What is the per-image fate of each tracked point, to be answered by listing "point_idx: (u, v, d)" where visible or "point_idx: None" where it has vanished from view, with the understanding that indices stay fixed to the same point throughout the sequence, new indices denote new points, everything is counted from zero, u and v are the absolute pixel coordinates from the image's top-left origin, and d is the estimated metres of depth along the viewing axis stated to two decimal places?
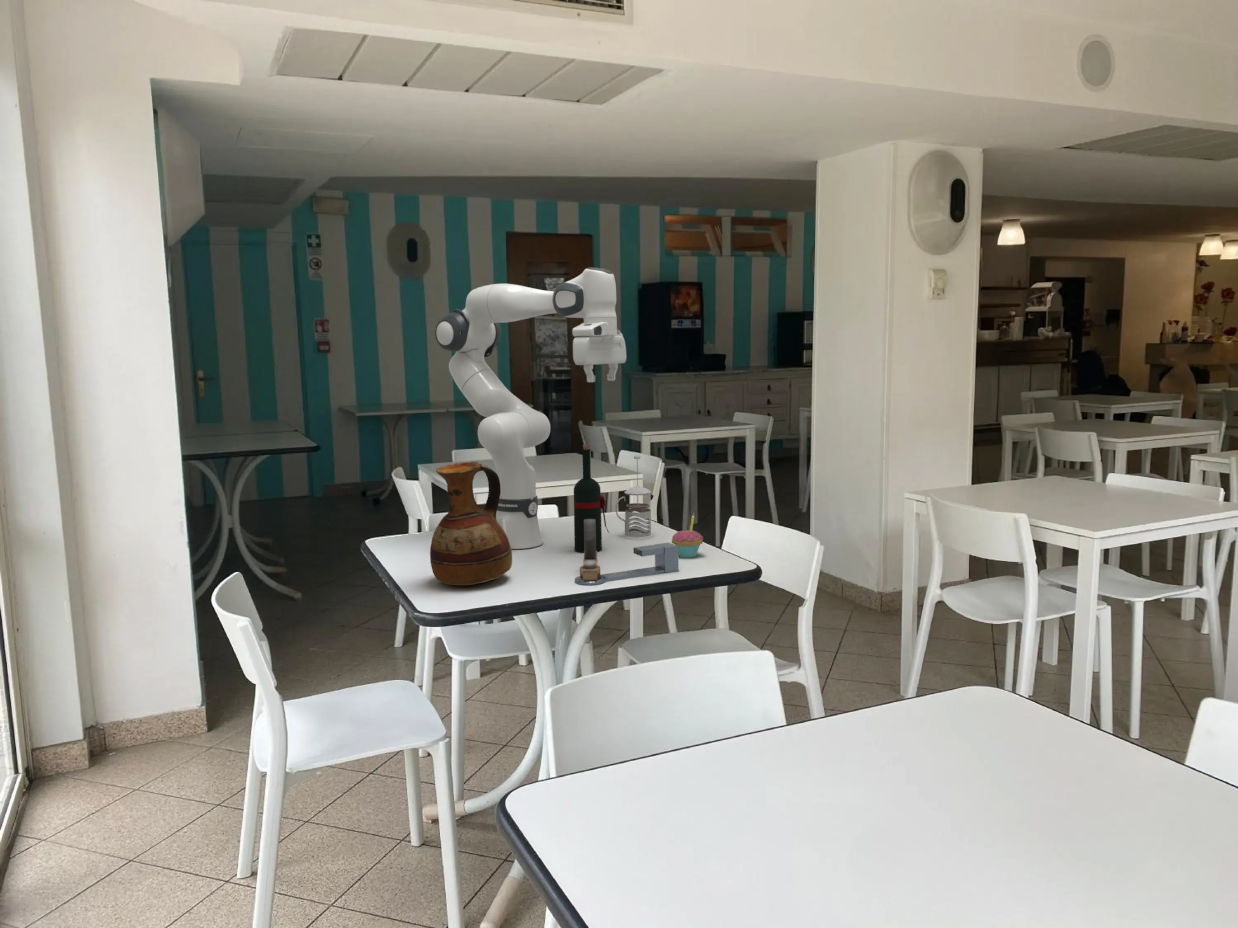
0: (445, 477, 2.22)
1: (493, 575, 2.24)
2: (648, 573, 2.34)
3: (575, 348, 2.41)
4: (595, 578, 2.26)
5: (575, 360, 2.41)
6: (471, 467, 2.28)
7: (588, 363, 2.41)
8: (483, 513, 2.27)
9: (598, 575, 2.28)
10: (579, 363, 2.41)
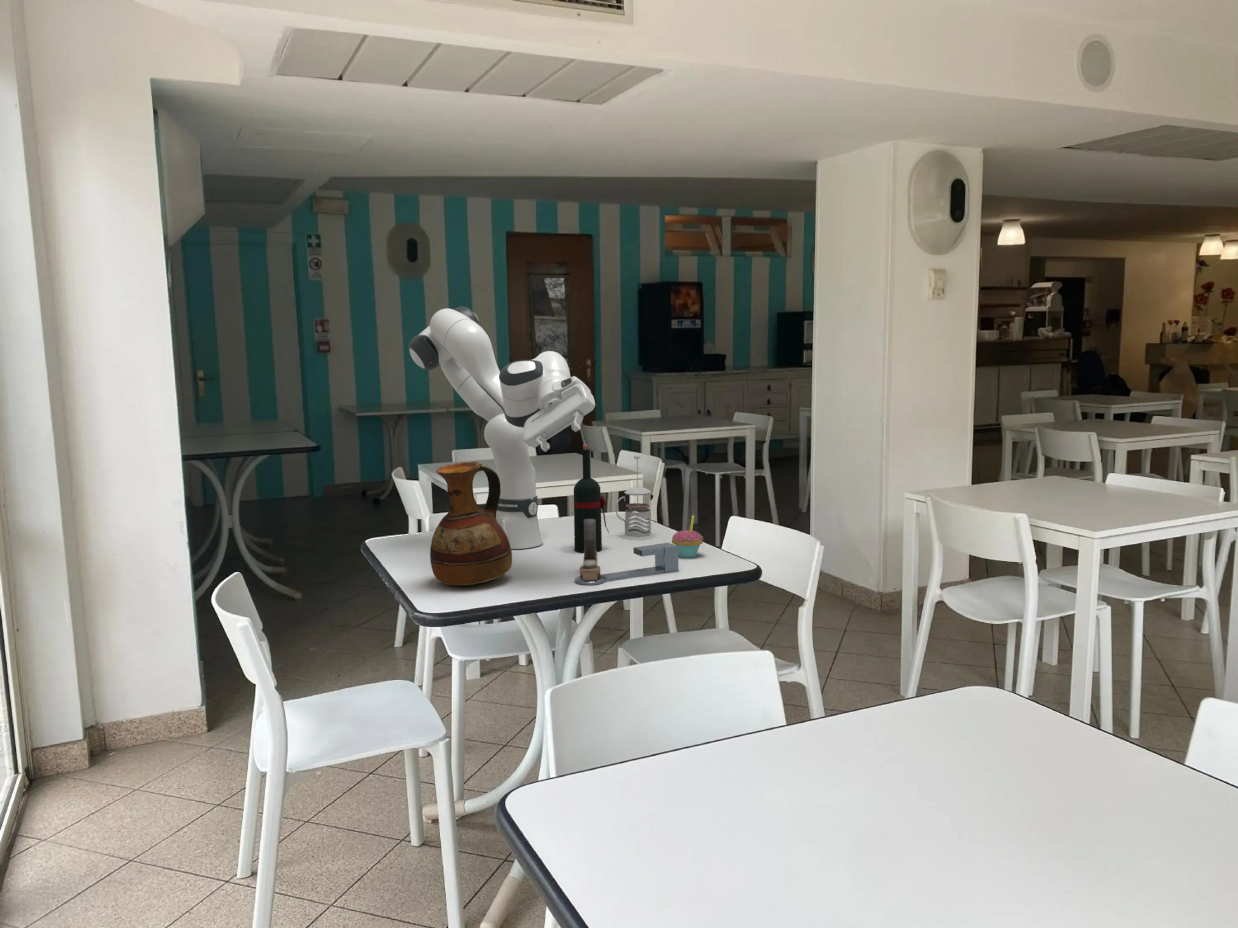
0: (445, 477, 2.22)
1: (493, 575, 2.24)
2: (648, 573, 2.34)
3: (585, 390, 2.24)
4: (595, 578, 2.26)
5: (588, 399, 2.22)
6: (471, 467, 2.28)
7: None
8: (483, 513, 2.27)
9: (598, 575, 2.28)
10: (590, 404, 2.22)
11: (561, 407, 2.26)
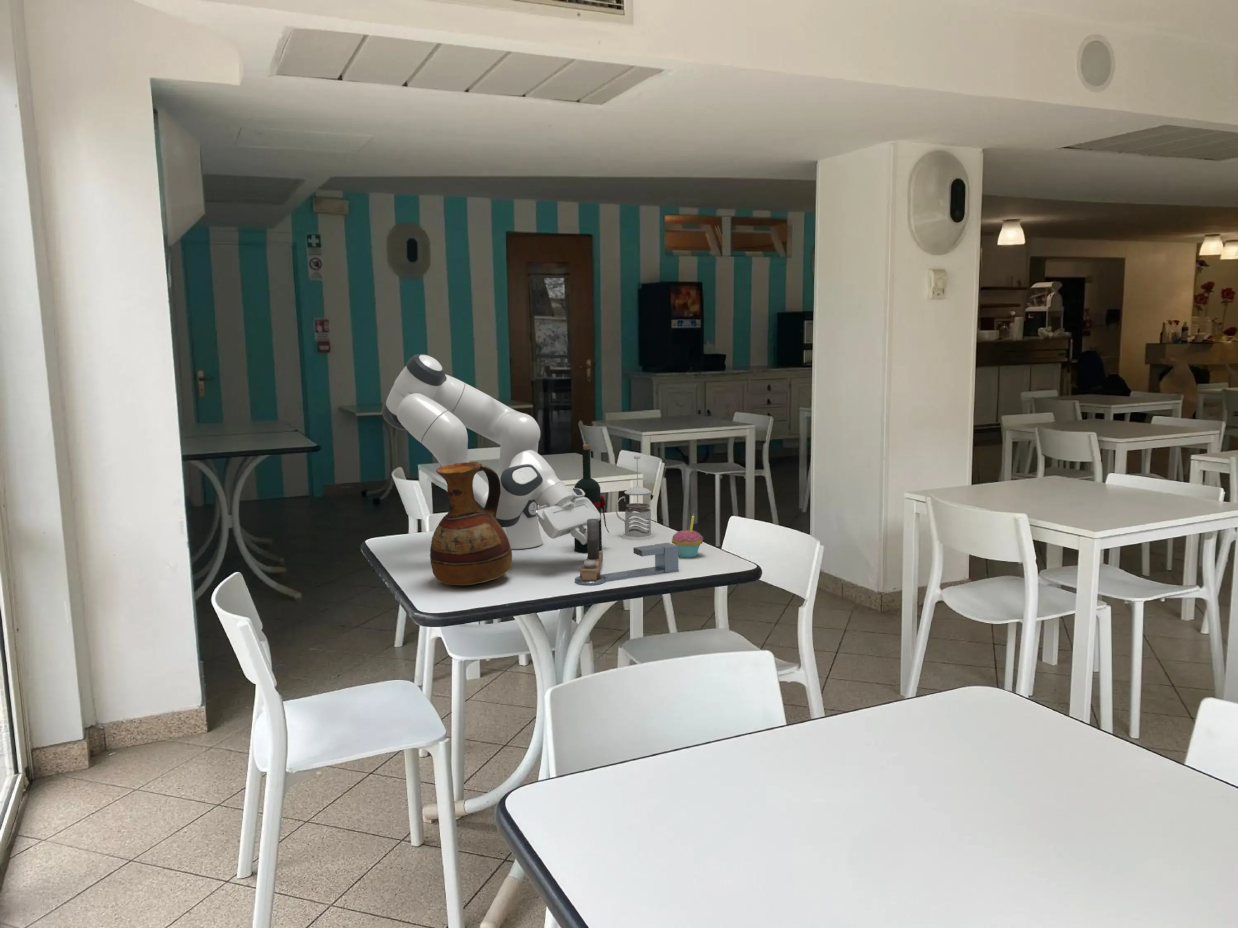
0: (445, 477, 2.22)
1: (493, 575, 2.24)
2: (648, 573, 2.34)
3: None
4: (594, 578, 2.26)
5: None
6: (471, 467, 2.28)
7: None
8: (483, 513, 2.27)
9: (598, 575, 2.28)
10: None
11: (579, 512, 2.43)
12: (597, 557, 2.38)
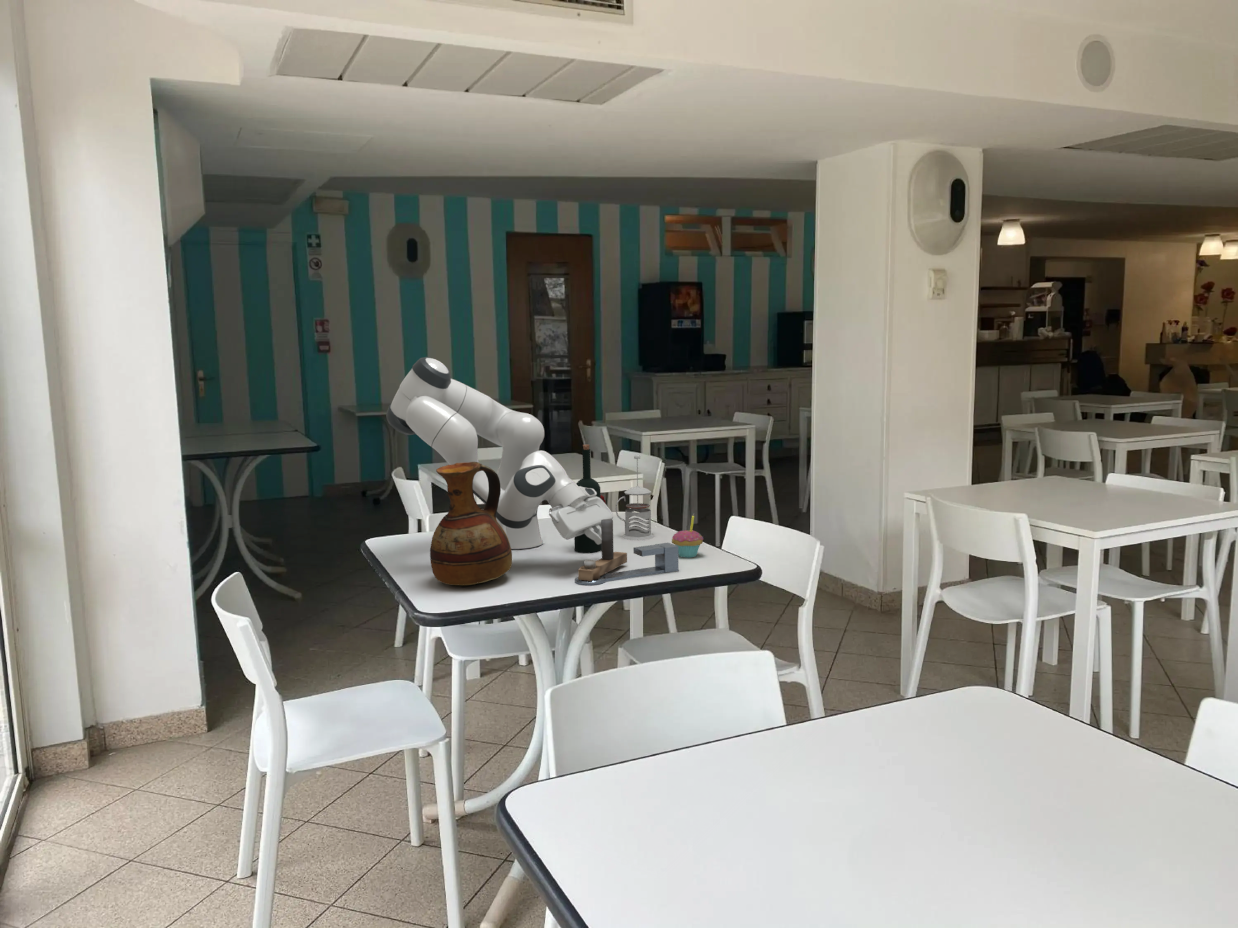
0: (445, 477, 2.22)
1: (493, 575, 2.24)
2: (648, 573, 2.34)
3: None
4: (589, 578, 2.26)
5: None
6: (471, 467, 2.28)
7: None
8: (483, 513, 2.27)
9: (595, 576, 2.27)
10: None
11: (592, 512, 2.42)
12: (609, 558, 2.36)
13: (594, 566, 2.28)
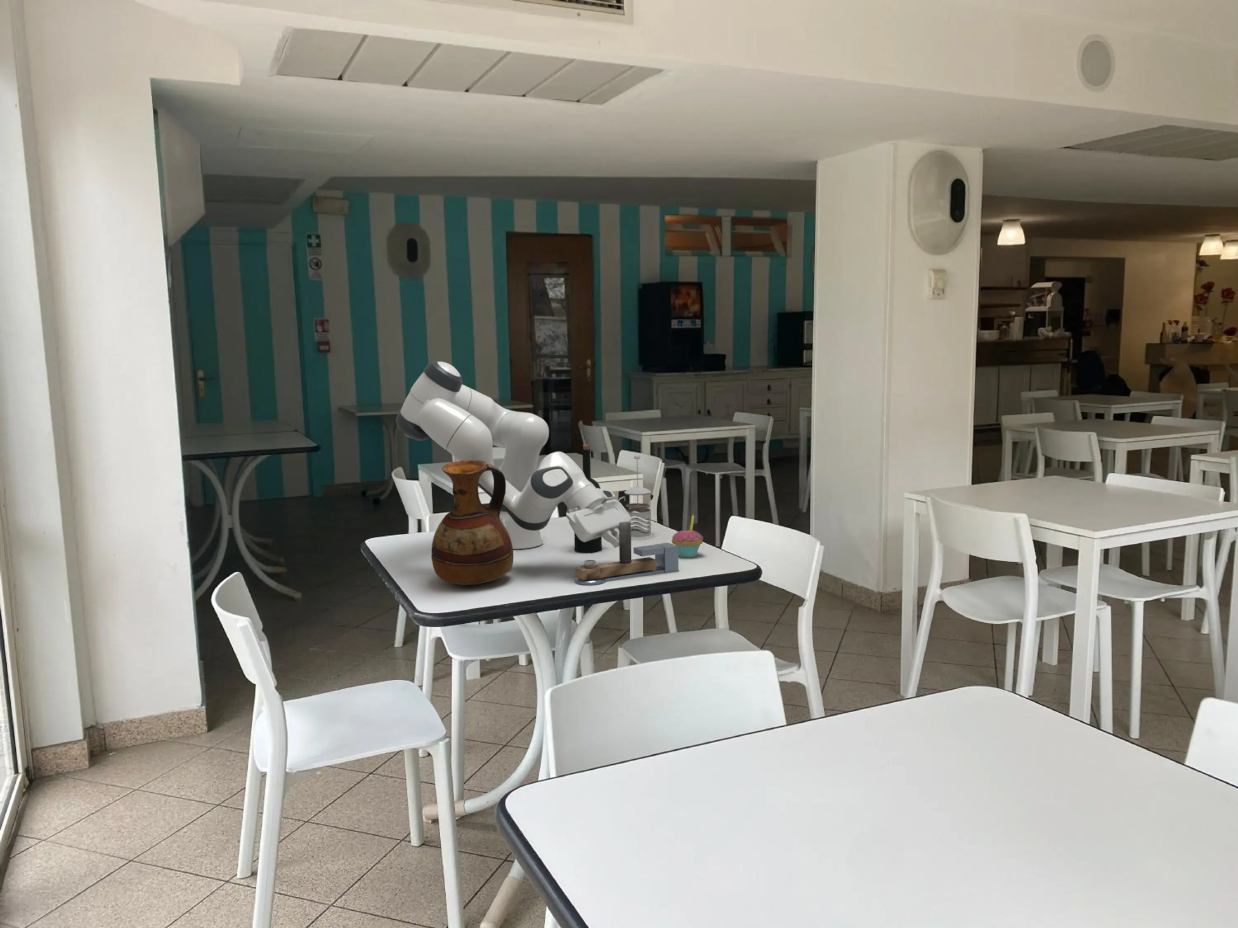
0: (451, 476, 2.20)
1: (494, 576, 2.24)
2: (648, 573, 2.34)
3: None
4: (581, 578, 2.27)
5: None
6: (477, 466, 2.25)
7: None
8: (487, 513, 2.26)
9: (588, 576, 2.27)
10: None
11: (610, 515, 2.38)
12: (624, 562, 2.32)
13: (591, 567, 2.28)
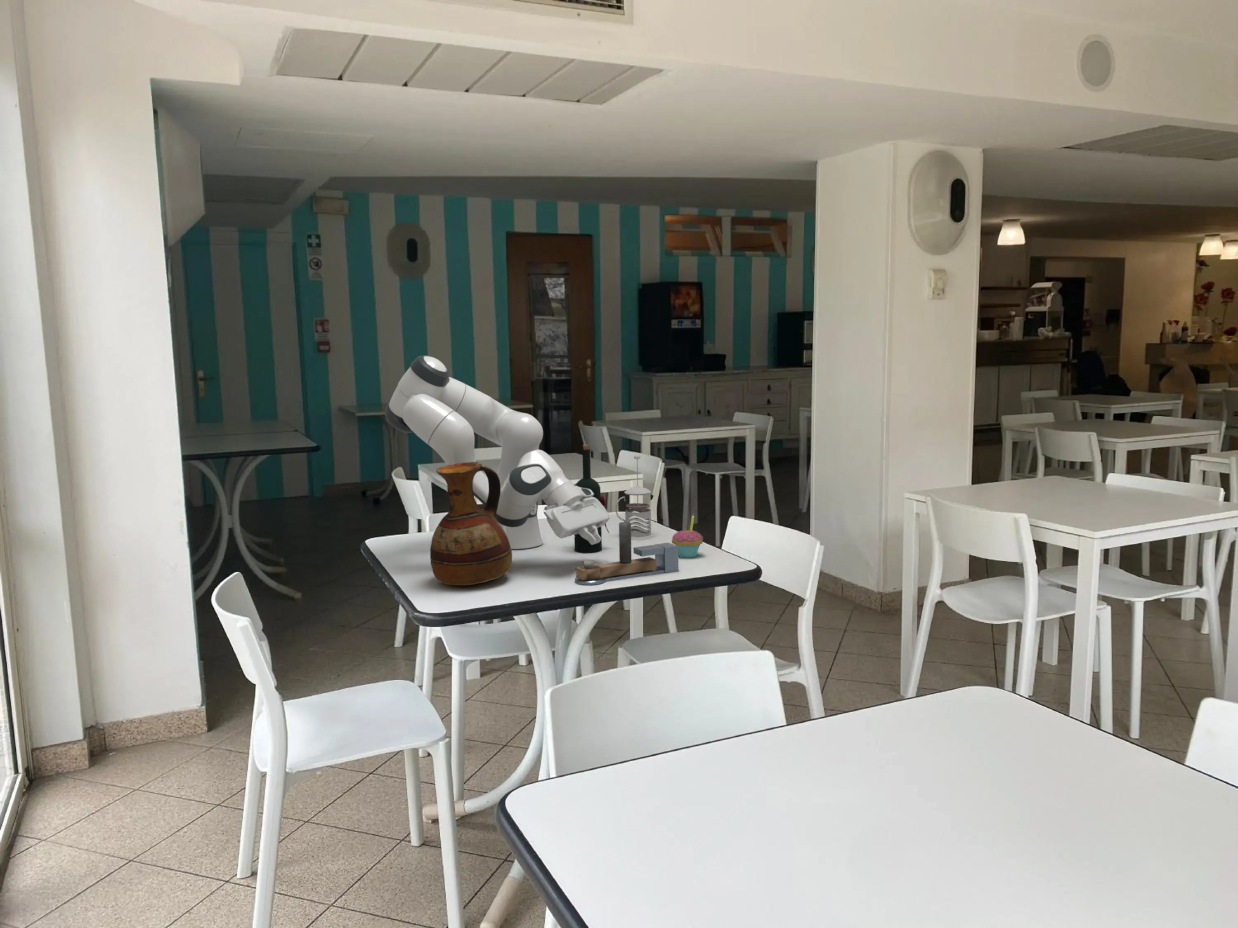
0: (445, 477, 2.22)
1: (493, 575, 2.24)
2: (648, 573, 2.34)
3: None
4: (581, 578, 2.27)
5: None
6: (471, 467, 2.28)
7: None
8: (483, 513, 2.27)
9: (588, 576, 2.27)
10: None
11: (588, 512, 2.42)
12: (624, 562, 2.32)
13: (591, 567, 2.28)
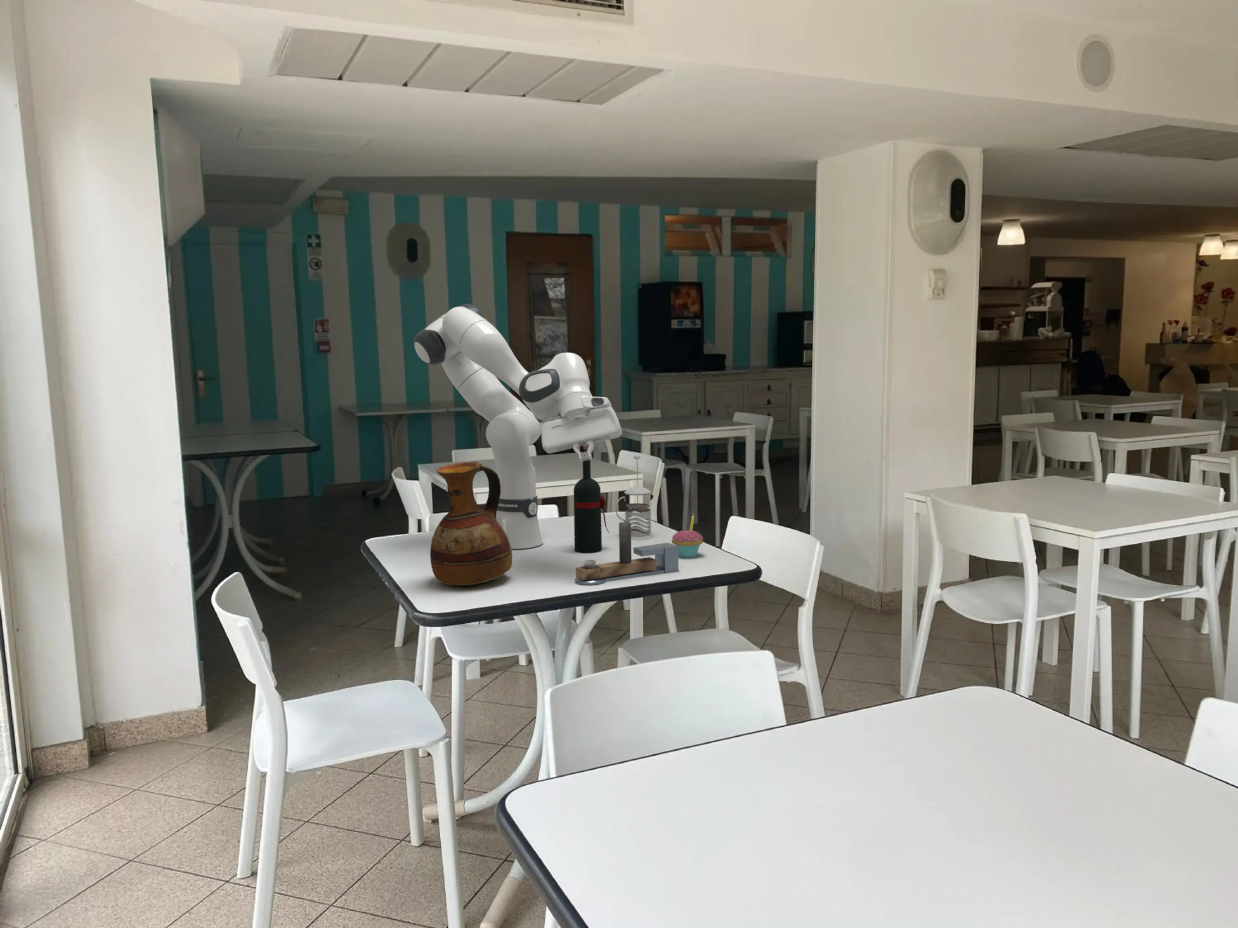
0: (445, 477, 2.22)
1: (493, 575, 2.24)
2: (648, 573, 2.34)
3: None
4: (581, 578, 2.27)
5: (620, 428, 2.31)
6: (471, 467, 2.28)
7: None
8: (483, 513, 2.27)
9: (588, 576, 2.27)
10: (620, 432, 2.32)
11: (589, 426, 2.32)
12: (624, 562, 2.32)
13: (591, 567, 2.28)
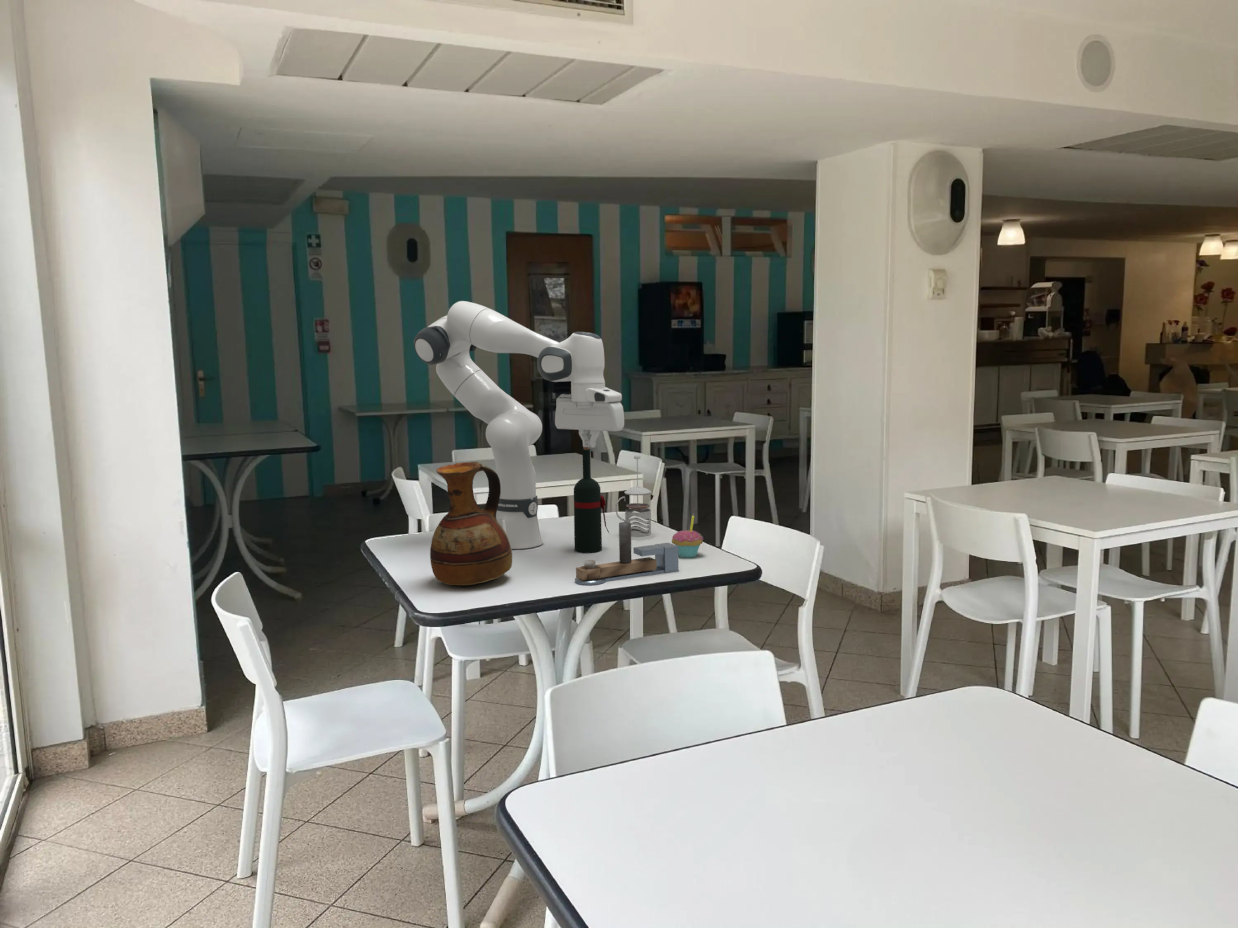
0: (445, 477, 2.22)
1: (493, 575, 2.24)
2: (648, 573, 2.34)
3: (617, 414, 2.37)
4: (581, 578, 2.27)
5: (618, 426, 2.37)
6: (471, 467, 2.28)
7: None
8: (483, 513, 2.27)
9: (588, 576, 2.27)
10: (619, 429, 2.38)
11: (592, 417, 2.41)
12: (624, 562, 2.32)
13: (591, 567, 2.28)
